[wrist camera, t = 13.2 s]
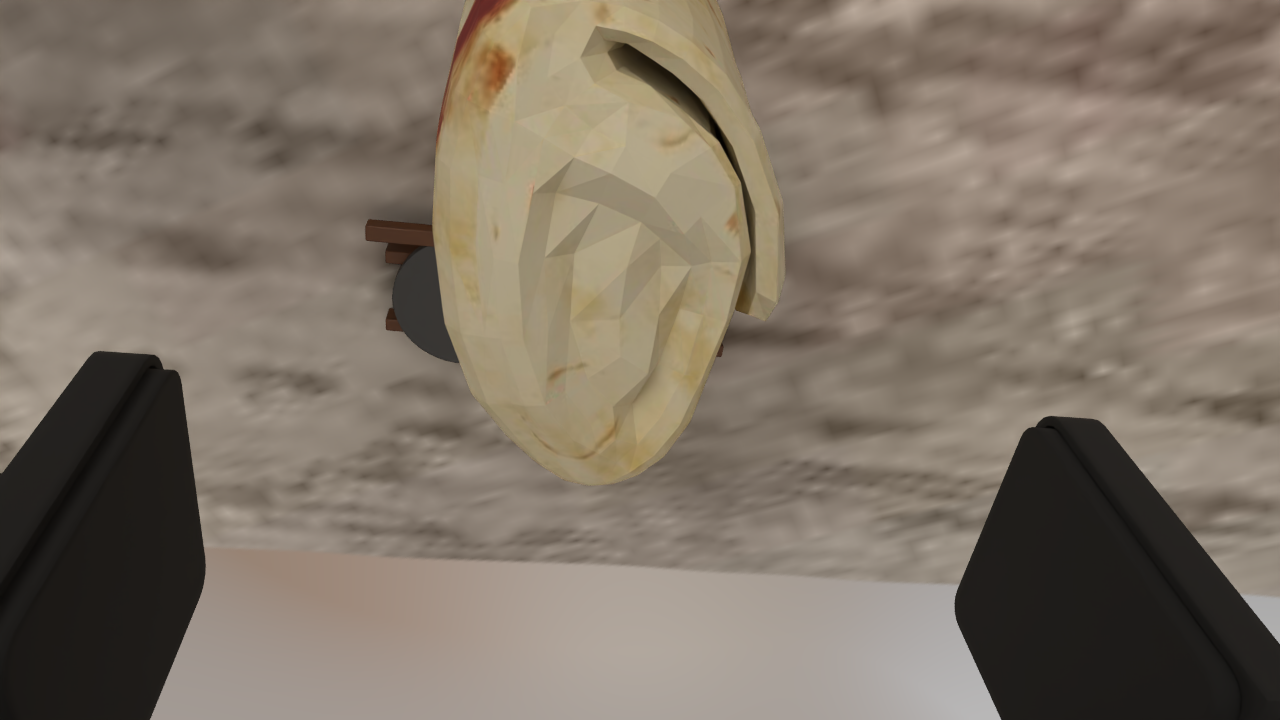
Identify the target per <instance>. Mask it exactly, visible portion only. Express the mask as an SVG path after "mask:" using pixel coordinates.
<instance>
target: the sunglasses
mask: <svg viewBox="0 0 1280 720" xmlns="http://www.w3.org/2000/svg"><path fill="white" fill-rule="evenodd" d="M365 234H366V240H367V241H375V242H386V243H388V246H387V249H386V252H385V261H386V263H392V264H402V265H401V267H400V269H399V271H398V273H397V276H396V279H395V282H394V287H393V295H392V299H393V308H390V309H389V311H388V314H387V317H386V330H390V331H402V332H405V334H406V335H407V336H408V337H409V339H410V340H411V341H412V342H413V343H415V344H416V345H417V346H418V347H419V348H421V349H422V350H424V351H425V352H427V353H429V354H431V355H433V356H435V357H437V358H440V359H443V360H446V361H450V362H455V363H460V362H459V360H458V357H457V354H456V352H455V349H454V346H453V344H452V341H451V339H450V336H449V333H448V331H447V328H446V325H445V322H444V315H443V308H442V300H441V293H440V285H439V277H438V269H437V261H436V254H435V246H434V238H433V230H432V225H426V224H415V223H404V222H393V221H383V220H372V219H369V220H368V221H367V224H366V226H365ZM722 352H723V344H722V343H721V345H720V348H719V350H718V353H717V355H716V357H721V356H722Z"/></svg>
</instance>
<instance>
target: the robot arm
mask: <svg viewBox="0 0 1280 720" xmlns="http://www.w3.org/2000/svg"><path fill="white" fill-rule="evenodd" d="M205 567H206V564H205V553H204V546H203V539H202V531H201V524H200V516H199V509H198V502H197V494H196V487H195V479H194V472H193V465H192V457H191V450H190V442H189V435H188V428H187V420H186V413H185V405H184V398H183V391H182V384H181V379H180V376H179V374H178V372H177V371H175V370H164V369H163V366H162V363H161V361H160V359H159V358H158V357H157V356H155V355H149V354H134V353H119V352H105V351H98V352H94V353H93V354H92V355H91V356H90V357H89V358H88V359H87V360H86V362H85V363H84V364H83V366H82V367H81V369H80V370H79V371H78V373H77V374H76V375H75V377H74V378H73V379H72V381H71V382H70V383H69V385H68V386H67V387H66V389H65V390H64V391H63V393H62V394H61V395H60V397H59V398H58V399H57V401H56V402H55V403H54V405H53V406H52V407H51V409H50V410H49V411H48V413H47V414H46V416H45V417H44V418H43V420H42V421H41V422H40V424H39V425H38V426H37V428H36V429H35V430H34V432H33V433H32V434H31V436H30V437H29V438H28V440H27V441H26V442H25V444H24V445H23V446H22V448H21V449H20V450H19V452H18V453H17V454H16V456H15V457H14V458H13V460H12V461H11V462H10V464H9V465H8V467H7V468H6V469H5V471H4V472H3V473H2V474H1V473H0V720H150V718H151V716H152V713H153V711H154V708H155V706H156V703H157V701H158V698H159V696H160V693H161V691H162V689H163V686H164V684H165V681H166V679H167V676H168V674H169V672H170V669H171V667H172V664H173V662H174V659H175V657H176V654H177V652H178V650H179V647H180V645H181V642H182V640H183V637H184V635H185V632H186V630H187V628H188V625H189V622H190V620H191V618H192V615H193V613H194V610H195V608H196V605H197V603H198V601H199V598H200V595H201V592H202V589H203V585H204V579H205ZM955 615H956V620H957V623H958V625H959V628H960V630H961V632H962V634H963V637H964V639H965V641H966V643H967V645H968V648H969V650H970V652H971V654H972V656H973V659H974V661H975V663H976V665H977V667H978V670H979V672H980V674H981V676H982V678H983V680H984V683H985V685H986V687H987V689H988V691H989V693H990V696H991V698H992V700H993V702H994V705H995V707H996V709H997V711H998V713H999V715H1000V717H1001V720H1280V644H1279V643H1278V641H1277V640H1276V639H1275V638H1274V637H1273V635H1272V634H1271V633H1270V631H1269V630H1268V629H1267V628H1266V626H1265V625H1264V624H1263V623H1262V621H1260V619H1259V618H1258V617H1257V615H1256V614H1255V613H1254V612H1253V610H1252V609H1251V608H1250V607H1249V605H1248V604H1247V603H1246V602H1245V600H1244V599H1243V598H1242V597H1241V595H1240V594H1239V593H1238V592H1237V590H1236V589H1235V588H1234V587H1233V585H1232V584H1231V583H1230V582H1229V580H1228V579H1227V578H1226V577H1225V575H1224V574H1223V573H1222V572H1221V570H1220V569H1219V568H1218V567H1217V565H1216V564H1215V563H1214V562H1213V560H1212V559H1211V558H1210V557H1209V555H1208V554H1207V553H1206V552H1205V550H1204V549H1203V548H1202V547H1201V545H1200V544H1199V543H1198V542H1197V540H1196V539H1195V538H1194V537H1193V535H1192V534H1191V533H1190V532H1189V530H1188V529H1187V528H1186V527H1185V525H1184V524H1183V523H1182V522H1181V520H1180V519H1179V518H1178V517H1177V515H1176V514H1175V513H1174V512H1173V510H1172V509H1171V508H1170V507H1169V505H1168V504H1167V503H1166V502H1165V500H1164V499H1163V498H1162V497H1161V495H1160V494H1159V493H1158V492H1157V490H1156V489H1155V488H1154V487H1153V485H1152V484H1151V483H1150V482H1149V480H1148V479H1147V478H1146V477H1145V475H1144V474H1143V473H1142V472H1141V470H1140V469H1139V468H1138V467H1137V465H1136V464H1135V463H1134V462H1133V460H1132V459H1131V458H1130V457H1129V455H1128V454H1127V453H1126V452H1125V450H1124V449H1123V448H1122V447H1121V445H1120V444H1119V443H1118V442H1117V440H1116V439H1115V438H1114V437H1113V435H1112V434H1111V433H1110V432H1109V430H1108V429H1107V428H1106V427H1105V426H1104V425H1103V424H1102V423H1101V422H1100V421H1098V420H1094V419H1086V418H1072V417H1057V416H1048V417H1045V418H1043V419H1042V420H1041V421H1040V422H1039V423H1038V424H1037V426H1036V427H1032V428H1028V429H1027V430H1026V431H1025V432H1024V433H1023V435H1022V437H1021V438H1020V441H1019V443H1018V446H1017V448H1016V450H1015V453H1014V455H1013V458H1012V460H1011V462H1010V465H1009V467H1008V470H1007V472H1006V474H1005V477H1004V479H1003V482H1002V484H1001V486H1000V489H999V491H998V494H997V496H996V498H995V501H994V503H993V506H992V508H991V510H990V513H989V515H988V518H987V520H986V522H985V525H984V527H983V530H982V532H981V534H980V537H979V539H978V542H977V544H976V546H975V549H974V551H973V554H972V556H971V558H970V561H969V563H968V566H967V568H966V570H965V573H964V575H963V578H962V580H961V582H960V585H959V587H958V590H957V593H956V596H955Z"/></svg>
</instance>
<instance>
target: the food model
mask: <svg viewBox="0 0 1280 720" xmlns="http://www.w3.org/2000/svg"><path fill="white" fill-rule="evenodd" d="M432 230H433V238H434V246H435V254H436V261H437V269H438V277H439V285H440V293H441V300H442V308H443V315H444V322H445V325H446V328H447V331H448V333H449V336H450V339H451V341H452V344H453V346H454V349H455V352H456V354H457V357H458V360H459V362H460V365H461V368H462V370H463V373H464V375H465V378H466V381H467V383H468V386H469V389H470V391H471V394H472V395H473V396H474V397H475V398H476V400H477V401H478V402H479V403H480V404H481V406H482V407H483V408H484V409H485V410H486V412H487V413H488V414H489V415H490V416H491V418H492V419H493V420H494V421H495V422H496V424H497V425H498V426H499V427H500V428H501V430H502V431H503V432H504V433H505V434H506V436H507V437H509V438H510V439H511V440H512V441H513V442H514V443H515V444H516V445H517V446H518V447H520V448H521V449H522V450H523V451H524V452H525V453H526V454H527V455H528V456H529V457H530V458H532V459H533V460H534V461H535V462H537V463H538V464H540V465H541V466H543V467H544V468H546V469H547V470H549V471H550V472H552V473H554V474H555V475H557V476H558V477H560V478H562V479H563V480H565V481H570V482H574V483H578V484H583V485H589V486H591V485H607V484H614V483H617V482H620V481H623V480H625V479H628V478H631V477H634V476H637V475H639V474H640V473H641V472H643V471H644V470H646V469H647V468H649V467H650V466H651V465H653V464H654V463H656V462H657V461H659V460H660V459H661V458H663V457H664V456H665V455H666V453H667V452H668V451H669V449H670V448H671V447H672V445H673V444H674V443H675V441H676V440H677V439H678V437H679V436H680V435H681V433H682V432H683V431H684V429H685V428H686V427H687V425H688V424H689V423H690V421H691V418H692V416H693V413H694V411H695V408H696V406H697V403H698V401H699V398H700V396H701V393H702V391H703V388H704V386H705V383H706V380H707V378H708V375H709V373H710V370H711V368H712V365H713V363H714V360H715V358H716V355H717V353H718V350H719V348H720V345H721V343H722V340H723V338H724V335H725V333H726V330H727V328H728V325H729V323H730V320H731V318H732V315H733V313H734V309H736V311H739V312H742V313H745V314H748V315H751V316H753V317H756V318H758V319H761V320H763V321H766V320H767V319H768V317H769V316H770V314H771V312H772V311H773V309H774V308H775V306H776V305H777V303H778V302H779V298H780V294H781V291H782V287H783V283H784V279H785V247H784V217H783V200H782V197H781V194H780V191H779V188H778V184H777V181H776V178H775V175H774V172H773V168H772V165H771V162H770V159H769V156H768V153H767V149H766V146H765V143H764V140H763V137H762V133H761V130H760V128H759V126H758V125H757V123H756V121H755V119H754V117H753V115H752V114H751V110H750V107H749V103H748V99H747V96H746V92H745V89H744V85H743V82H742V78H741V76H740V73H739V71H738V68H737V66H736V63H735V59H734V55H733V52H732V48H731V44H730V40H729V37H728V33H727V29H726V25H725V22H724V18H723V14H722V12H721V10H720V8H719V6H718V4H717V1H716V0H466V1H465V5H464V9H463V13H462V17H461V22H460V26H459V30H458V35H457V39H456V44H455V48H454V53H453V57H452V62H451V66H450V71H449V75H448V80H447V84H446V88H445V93H444V97H443V102H442V108H441V113H440V118H439V125H438V131H437V140H436V159H435V180H434V199H433V222H432Z"/></svg>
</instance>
